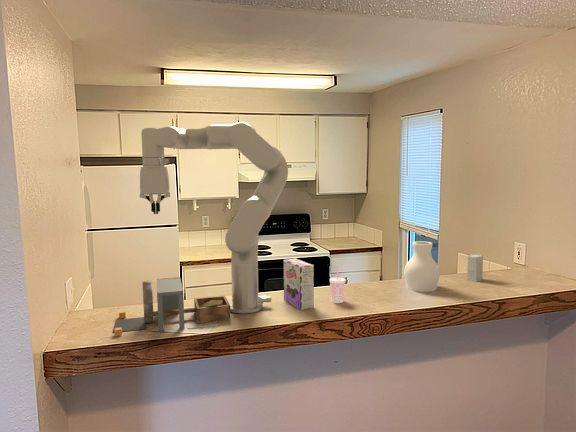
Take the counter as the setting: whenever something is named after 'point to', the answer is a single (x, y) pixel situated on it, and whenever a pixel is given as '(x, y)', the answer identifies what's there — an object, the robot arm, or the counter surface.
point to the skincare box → (475, 268)
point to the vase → (422, 269)
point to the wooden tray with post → (201, 313)
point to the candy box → (299, 283)
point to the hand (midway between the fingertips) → (155, 213)
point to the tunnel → (166, 300)
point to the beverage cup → (337, 289)
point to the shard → (212, 303)
